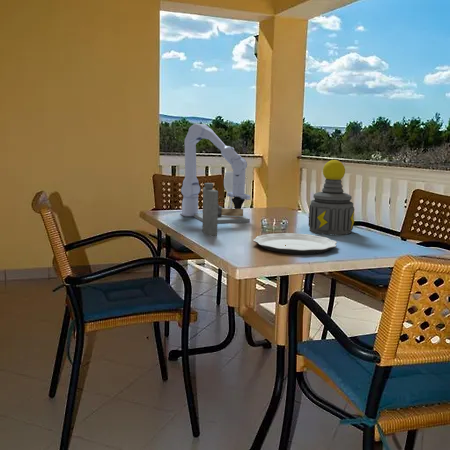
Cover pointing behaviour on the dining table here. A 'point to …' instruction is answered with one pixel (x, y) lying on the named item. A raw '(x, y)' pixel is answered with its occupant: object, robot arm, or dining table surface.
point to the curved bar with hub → (229, 212)
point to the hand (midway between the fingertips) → (237, 213)
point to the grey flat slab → (225, 218)
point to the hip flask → (210, 210)
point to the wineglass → (229, 184)
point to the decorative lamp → (332, 204)
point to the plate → (295, 243)
